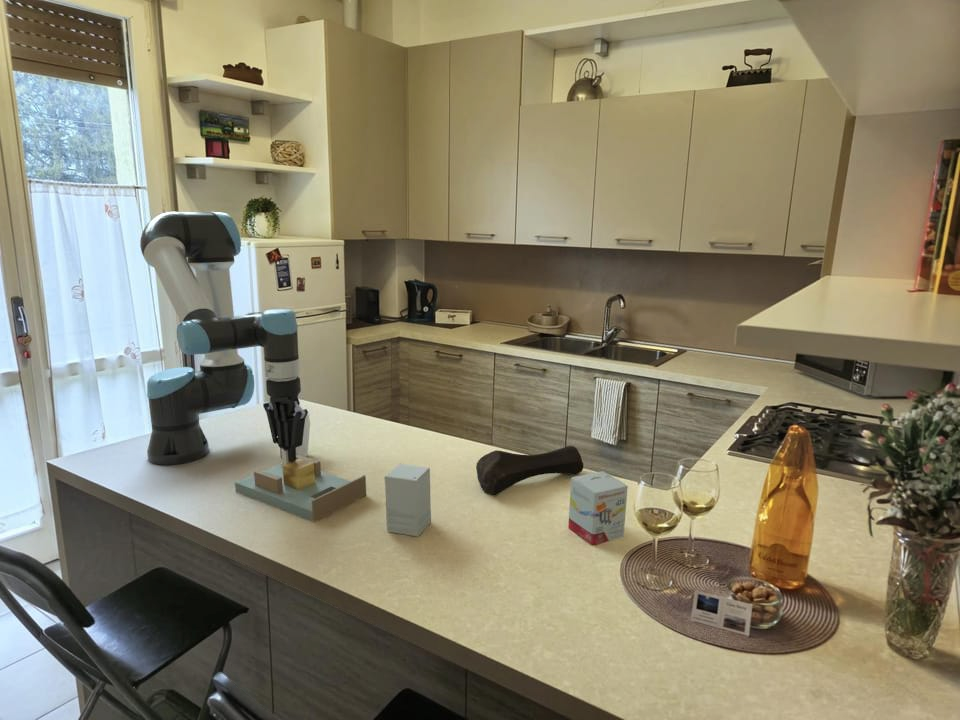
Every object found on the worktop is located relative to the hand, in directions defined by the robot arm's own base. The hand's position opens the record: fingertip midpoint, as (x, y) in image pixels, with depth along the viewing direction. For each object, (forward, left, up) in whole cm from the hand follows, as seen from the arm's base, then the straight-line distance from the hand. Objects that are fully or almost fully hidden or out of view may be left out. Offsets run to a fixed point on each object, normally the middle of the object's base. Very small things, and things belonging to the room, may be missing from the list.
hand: (289, 473), depth 149 cm
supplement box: (+35, +2, -5) cm, 35 cm away
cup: (-16, +15, -5) cm, 22 cm away
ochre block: (+3, 0, -2) cm, 4 cm away
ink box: (+69, +22, -5) cm, 73 cm away
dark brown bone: (+44, +37, -5) cm, 58 cm away
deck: (+3, 0, -4) cm, 6 cm away
